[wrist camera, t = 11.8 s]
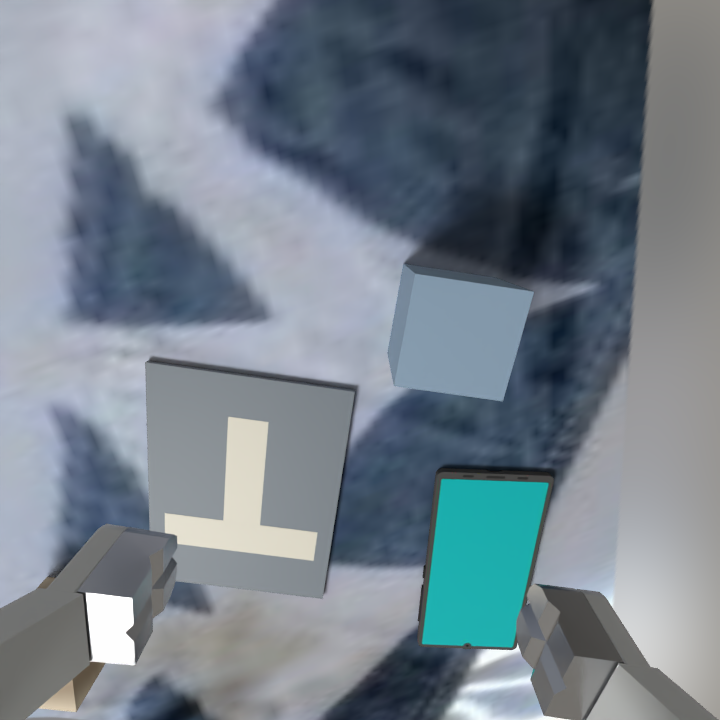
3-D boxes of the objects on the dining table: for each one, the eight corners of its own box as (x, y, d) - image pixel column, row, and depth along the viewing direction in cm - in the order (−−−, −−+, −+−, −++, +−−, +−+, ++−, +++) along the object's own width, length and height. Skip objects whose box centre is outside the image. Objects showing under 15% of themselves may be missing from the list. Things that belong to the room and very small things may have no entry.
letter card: (148, 360, 22) (145, 362, 22) (354, 389, 23) (354, 392, 23) (153, 574, 27) (151, 578, 27) (322, 594, 28) (322, 598, 28)
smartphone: (555, 476, 24) (515, 650, 29) (548, 468, 25) (511, 639, 30) (436, 471, 24) (416, 646, 29) (433, 464, 25) (415, 635, 30)
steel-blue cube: (403, 263, 21) (415, 273, 16) (495, 277, 21) (534, 291, 16) (387, 352, 22) (394, 385, 18) (473, 364, 22) (502, 401, 18)
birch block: (48, 576, 28) (-17, 647, 23) (119, 584, 28) (69, 656, 23) (54, 627, 29) (-5, 703, 25) (122, 634, 30) (76, 712, 25)
